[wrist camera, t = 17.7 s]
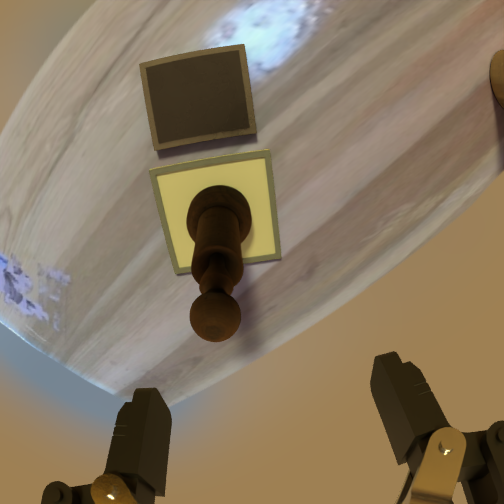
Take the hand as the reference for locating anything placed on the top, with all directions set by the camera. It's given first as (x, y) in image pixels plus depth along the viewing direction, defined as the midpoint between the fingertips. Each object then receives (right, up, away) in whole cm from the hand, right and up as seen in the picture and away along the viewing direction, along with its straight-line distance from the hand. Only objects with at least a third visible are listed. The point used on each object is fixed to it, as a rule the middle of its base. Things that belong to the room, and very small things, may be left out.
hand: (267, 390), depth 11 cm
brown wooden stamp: (-4, +9, +23) cm, 25 cm away
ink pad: (-6, +20, +17) cm, 27 cm away
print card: (-4, +9, +23) cm, 25 cm away
